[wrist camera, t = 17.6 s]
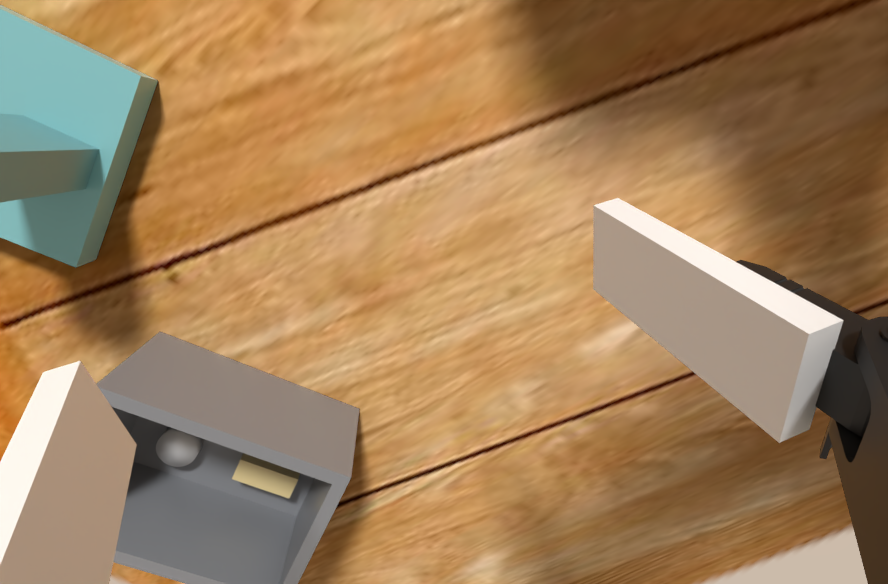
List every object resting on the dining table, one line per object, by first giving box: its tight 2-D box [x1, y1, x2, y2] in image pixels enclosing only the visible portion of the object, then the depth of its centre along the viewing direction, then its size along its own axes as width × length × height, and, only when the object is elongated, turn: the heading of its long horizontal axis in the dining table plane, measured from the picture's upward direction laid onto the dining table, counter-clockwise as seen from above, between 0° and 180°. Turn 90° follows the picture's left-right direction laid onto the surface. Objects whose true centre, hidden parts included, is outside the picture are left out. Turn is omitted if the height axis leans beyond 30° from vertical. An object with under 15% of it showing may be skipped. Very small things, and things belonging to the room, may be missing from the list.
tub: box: [96, 332, 359, 584], centre depth 33 cm, size 14×10×8 cm
